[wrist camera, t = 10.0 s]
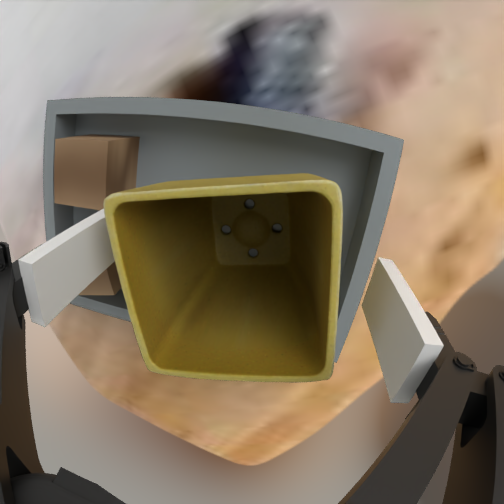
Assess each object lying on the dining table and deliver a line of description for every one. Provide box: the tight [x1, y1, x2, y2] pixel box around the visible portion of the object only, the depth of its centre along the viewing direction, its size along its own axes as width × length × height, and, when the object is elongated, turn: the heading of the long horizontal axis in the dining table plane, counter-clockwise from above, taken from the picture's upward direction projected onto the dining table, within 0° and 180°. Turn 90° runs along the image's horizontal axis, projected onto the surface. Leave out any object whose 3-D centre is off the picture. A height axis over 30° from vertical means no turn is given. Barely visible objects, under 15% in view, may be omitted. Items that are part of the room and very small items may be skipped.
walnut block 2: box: [79, 261, 122, 295], centre depth 20 cm, size 4×4×4 cm
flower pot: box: [103, 173, 343, 382], centre depth 16 cm, size 9×9×9 cm
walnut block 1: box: [54, 134, 140, 210], centre depth 18 cm, size 4×4×4 cm
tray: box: [43, 97, 404, 363], centre depth 19 cm, size 15×22×3 cm
